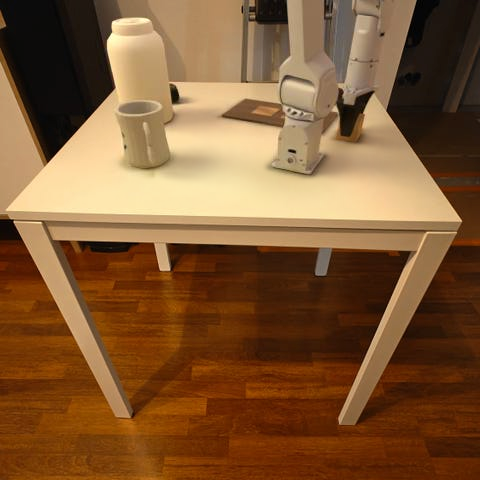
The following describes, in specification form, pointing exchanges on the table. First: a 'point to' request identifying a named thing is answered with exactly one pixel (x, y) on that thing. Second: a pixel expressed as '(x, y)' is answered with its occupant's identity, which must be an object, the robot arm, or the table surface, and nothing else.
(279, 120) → the word mat
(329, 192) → the table surface
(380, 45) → the robot arm
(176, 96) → the tape measure
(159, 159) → the mug
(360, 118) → the wooden cube
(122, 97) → the white bottle
